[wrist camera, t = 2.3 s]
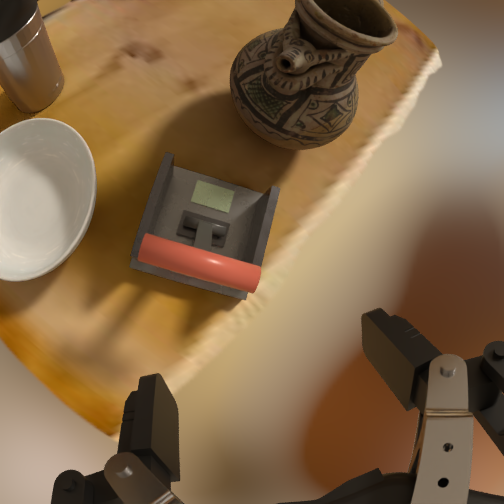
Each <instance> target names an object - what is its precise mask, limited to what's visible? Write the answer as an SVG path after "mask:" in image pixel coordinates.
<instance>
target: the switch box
mask: <svg viewBox="0 0 504 504" xmlns="http://www.w3.org/2000/svg"><path fill="white" fill-rule="evenodd" d="M279 192H280V188H278V187H275V186H271V187H270V188H269V189H268V190H267V191H266V192H265V193H264V194H262V193H259V192H256V191H253V190H250V189H247V188H244V187H241V186H238V185H235V184H232V183H229V182H225V181H222V180H219V179H216V178H213V177H210V176H206V175H203V174H200V173H196V172H193V171H190V170H186V169H183V168H180V167H176V166H174V154H171V153H168V152H166V153H165V155H164V158H163V161H162V163H161V166H160V168H159V171H158V174H157V176H156V179H155V182H154V185H153V187H152V190H151V193H150V196H149V199H148V202H147V205H146V208H145V211H144V214H143V217H142V220H141V223H140V226H139V229H138V232H137V235H136V238H135V242H134V245H133V248H132V252H131V255H130V256H131V257H132V259H131V263H130V266H129V267H130V268H132V269H136V270H139V271H142V272H145V273H149V274H152V275H156V276H159V277H162V278H166V279H169V280H173V281H176V282H180V283H183V284H187V285H190V286H194V287H197V288H201V289H205V290H208V291H212V292H216V293H219V294H223V295H227V296H231V297H234V298H238V299H242V300H246V298H247V294H248V292H246V291H242V290H238V289H235V288H231V287H227V286H224V285H220V284H216V283H213V282H209V281H205V280H202V279H198V278H195V277H191V276H188V275H184V274H181V273H177V272H174V271H170V270H167V269H164V268H160V267H157V266H153V265H150V264H147V263H143V262H140V261H138V255H139V250H140V247H141V243H142V240H143V238H144V235H145V234H146V233H148V234H151V235H154V236H158V237H161V238H165V239H168V240H171V241H175V242H178V243H181V244H185V245H188V246H192V247H193V243H194V239H195V234H196V230H197V229H194V228H191V227H187V226H184V225H183V223H184V219H185V216H190V217H193V218H196V219H200V220H203V221H206V222H210V223H213V224H216V225H220V226H223V227H226V232H225V235H224V237H221V236H218V235H214V234H212V244H211V252H212V253H216V254H219V255H222V256H226V257H229V258H233V259H236V260H240V261H243V262H247V263H250V264H254V265H257V266H260V267H261V265H262V261H263V257H264V253H265V249H266V245H267V241H268V237H269V233H270V228H271V224H272V220H273V216H274V212H275V208H276V204H277V200H278V196H279Z"/></svg>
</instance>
